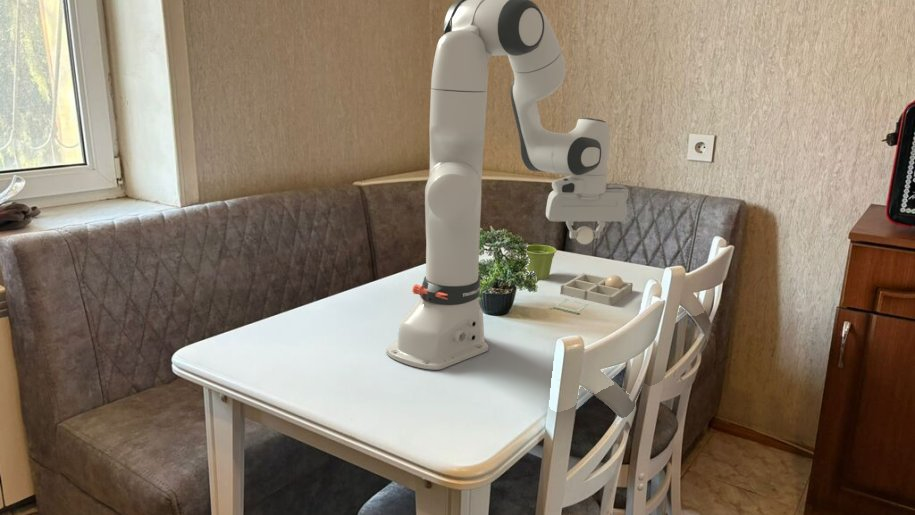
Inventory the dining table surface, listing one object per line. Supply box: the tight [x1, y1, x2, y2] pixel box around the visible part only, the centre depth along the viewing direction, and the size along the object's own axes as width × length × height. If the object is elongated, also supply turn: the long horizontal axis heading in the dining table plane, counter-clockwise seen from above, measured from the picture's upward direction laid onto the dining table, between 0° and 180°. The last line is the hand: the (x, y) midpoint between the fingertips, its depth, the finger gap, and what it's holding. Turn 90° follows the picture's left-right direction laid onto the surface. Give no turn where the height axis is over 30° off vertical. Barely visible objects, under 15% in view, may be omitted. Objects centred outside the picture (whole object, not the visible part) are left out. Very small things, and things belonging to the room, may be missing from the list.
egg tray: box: [560, 273, 633, 307], centre depth 179 cm, size 14×14×3 cm
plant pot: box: [526, 244, 557, 282], centre depth 191 cm, size 9×9×9 cm
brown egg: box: [605, 274, 624, 289], centre depth 180 cm, size 5×5×5 cm
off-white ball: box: [575, 225, 595, 245], centre depth 174 cm, size 5×5×5 cm
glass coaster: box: [553, 298, 589, 316], centre depth 170 cm, size 6×6×1 cm
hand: (584, 238), depth 175 cm, fingers closed on off-white ball, 5 cm apart
